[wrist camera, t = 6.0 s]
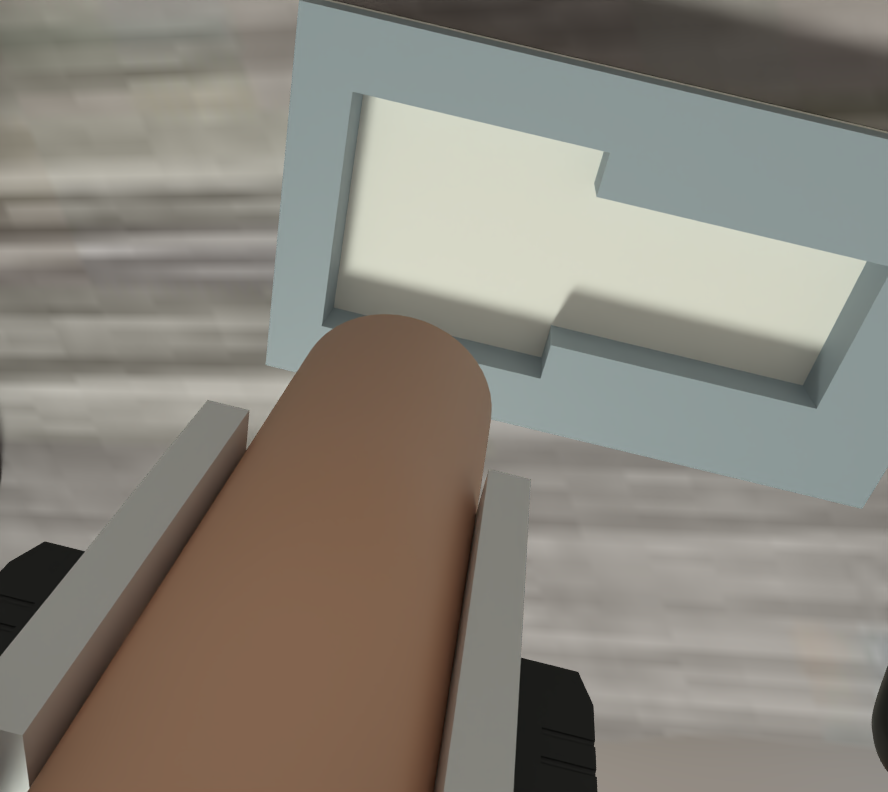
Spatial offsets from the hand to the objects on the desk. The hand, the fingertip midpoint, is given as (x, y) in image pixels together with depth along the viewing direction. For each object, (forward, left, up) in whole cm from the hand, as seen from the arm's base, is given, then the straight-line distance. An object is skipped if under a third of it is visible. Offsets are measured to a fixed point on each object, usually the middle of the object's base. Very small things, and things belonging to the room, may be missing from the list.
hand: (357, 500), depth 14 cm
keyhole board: (+6, 0, -17) cm, 18 cm away
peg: (0, 0, -4) cm, 4 cm away
